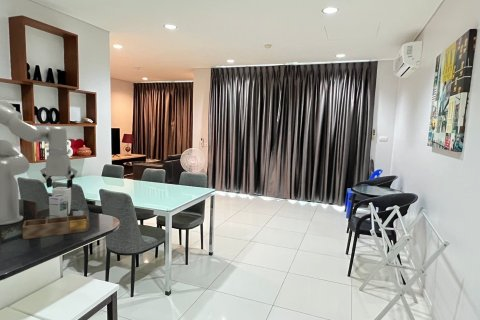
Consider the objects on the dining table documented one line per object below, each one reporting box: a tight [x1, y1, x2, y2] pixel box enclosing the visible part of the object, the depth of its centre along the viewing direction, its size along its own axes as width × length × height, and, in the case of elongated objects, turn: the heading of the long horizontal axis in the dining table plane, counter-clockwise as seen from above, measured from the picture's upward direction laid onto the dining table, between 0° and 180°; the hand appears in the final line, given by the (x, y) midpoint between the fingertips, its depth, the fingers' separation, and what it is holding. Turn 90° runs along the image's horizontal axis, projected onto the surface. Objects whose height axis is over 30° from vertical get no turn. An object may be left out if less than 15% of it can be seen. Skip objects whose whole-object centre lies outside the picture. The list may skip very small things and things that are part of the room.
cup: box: [51, 186, 72, 215], centre depth 159 cm, size 7×7×15 cm
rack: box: [22, 214, 90, 240], centre depth 137 cm, size 25×9×6 cm, turn 121°
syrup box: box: [48, 194, 69, 218], centre depth 146 cm, size 6×6×14 cm
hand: (59, 187), depth 145 cm, fingers open, 9 cm apart
